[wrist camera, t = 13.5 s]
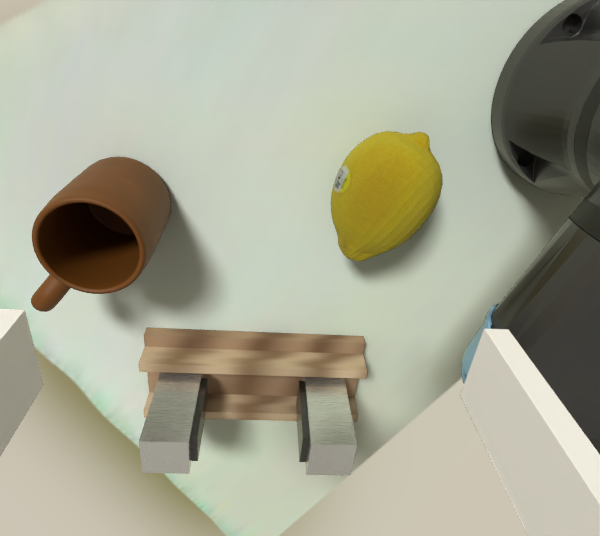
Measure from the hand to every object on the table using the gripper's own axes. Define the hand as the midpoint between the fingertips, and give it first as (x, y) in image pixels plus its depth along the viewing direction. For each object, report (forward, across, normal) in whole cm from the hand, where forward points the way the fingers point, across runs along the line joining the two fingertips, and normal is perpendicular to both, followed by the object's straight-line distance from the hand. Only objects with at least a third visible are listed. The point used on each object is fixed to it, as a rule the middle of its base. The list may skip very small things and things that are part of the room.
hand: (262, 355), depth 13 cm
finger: (+26, +7, -25) cm, 36 cm away
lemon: (+27, +9, -3) cm, 29 cm away
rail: (+27, 0, -25) cm, 37 cm away
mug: (+27, -13, -8) cm, 31 cm away
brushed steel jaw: (+26, -7, -25) cm, 36 cm away
